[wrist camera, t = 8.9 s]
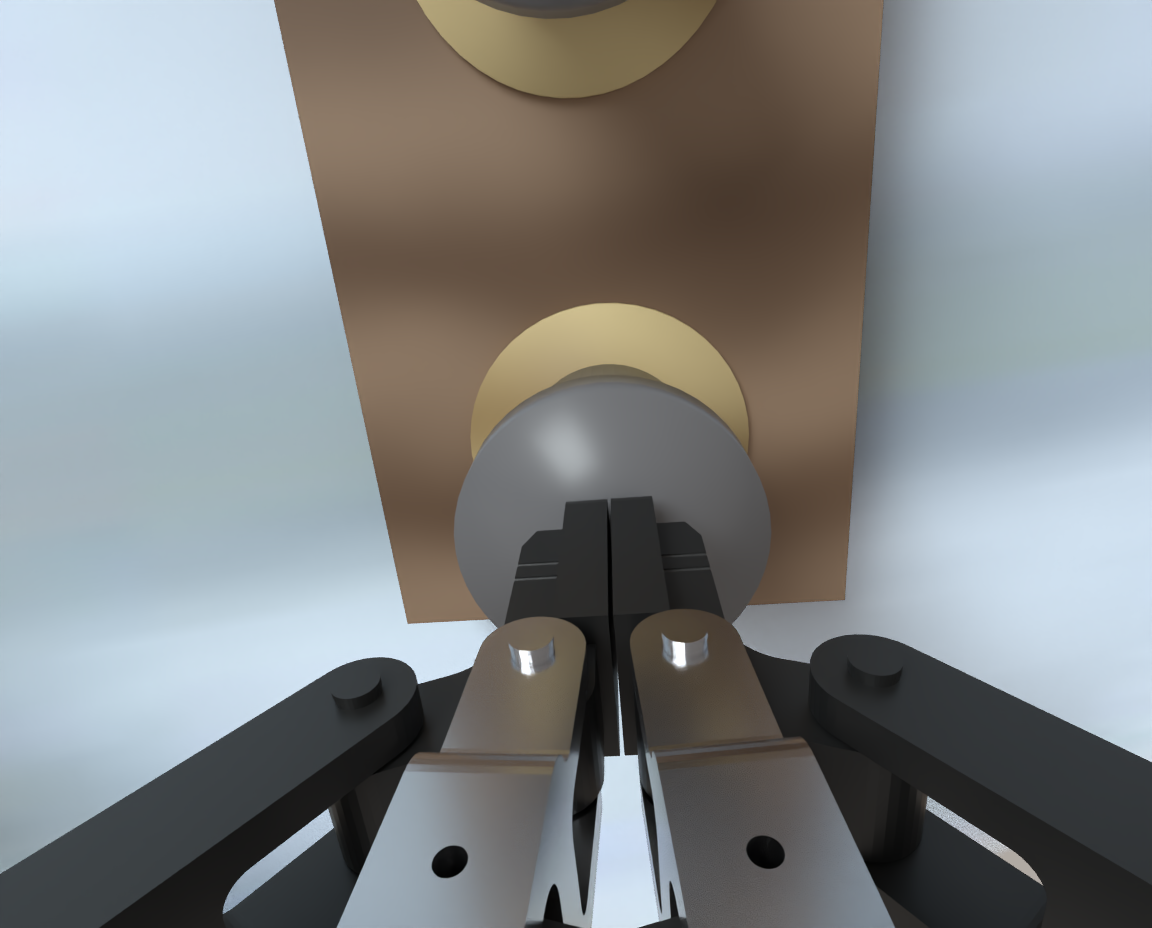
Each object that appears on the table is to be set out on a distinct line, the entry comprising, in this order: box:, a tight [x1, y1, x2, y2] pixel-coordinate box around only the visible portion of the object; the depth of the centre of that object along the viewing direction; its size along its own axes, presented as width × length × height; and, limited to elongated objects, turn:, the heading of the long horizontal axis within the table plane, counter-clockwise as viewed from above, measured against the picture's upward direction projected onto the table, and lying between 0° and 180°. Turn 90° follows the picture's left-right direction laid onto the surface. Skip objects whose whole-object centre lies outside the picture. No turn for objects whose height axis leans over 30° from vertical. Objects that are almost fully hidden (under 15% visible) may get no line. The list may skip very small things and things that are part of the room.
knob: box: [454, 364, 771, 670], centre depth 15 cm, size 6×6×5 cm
